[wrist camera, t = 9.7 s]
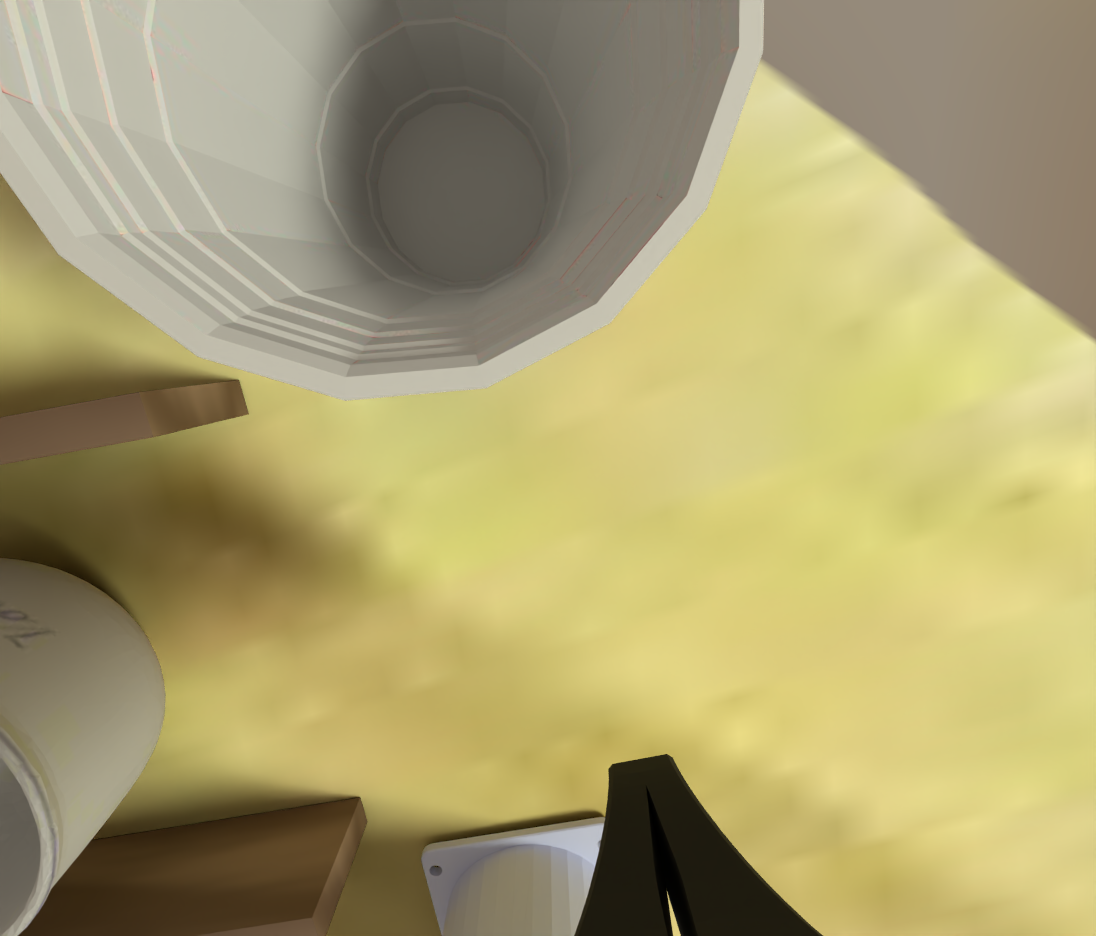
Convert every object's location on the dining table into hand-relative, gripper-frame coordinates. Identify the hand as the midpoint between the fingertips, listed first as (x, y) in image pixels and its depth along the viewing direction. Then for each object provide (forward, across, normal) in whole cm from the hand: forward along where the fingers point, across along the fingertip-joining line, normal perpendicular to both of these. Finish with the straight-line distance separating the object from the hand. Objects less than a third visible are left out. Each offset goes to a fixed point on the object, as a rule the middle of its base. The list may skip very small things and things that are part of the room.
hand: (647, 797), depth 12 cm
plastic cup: (+10, +2, -15) cm, 18 cm away
